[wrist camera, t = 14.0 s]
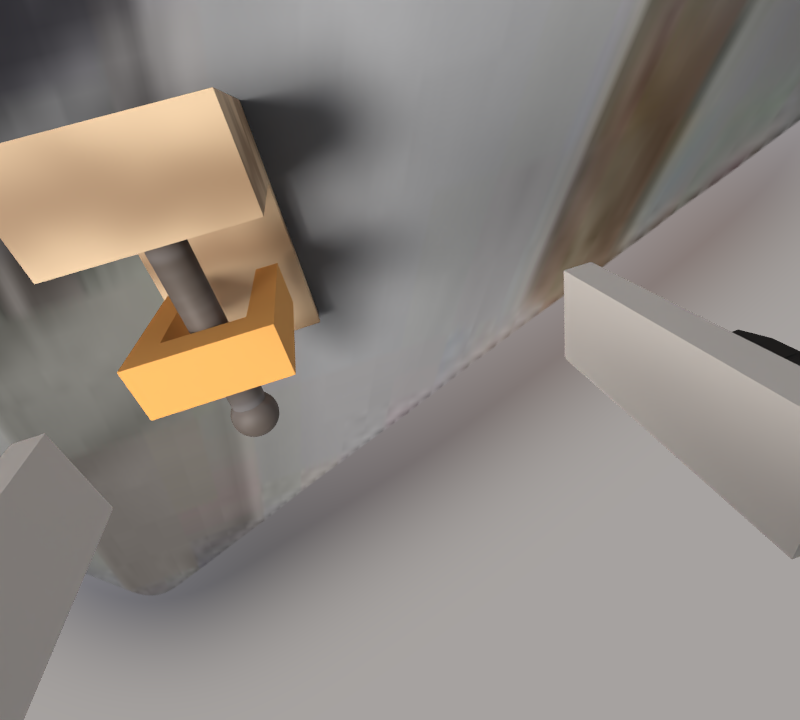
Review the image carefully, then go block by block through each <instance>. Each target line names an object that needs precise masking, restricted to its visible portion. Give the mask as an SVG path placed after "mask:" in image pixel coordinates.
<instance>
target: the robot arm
mask: <svg viewBox="0 0 800 720" xmlns="http://www.w3.org/2000/svg"><path fill="white" fill-rule="evenodd" d="M564 316H565V317H564V321H565V323H564V324H565V359H566V360H567V361H569V362H570V363H571V364H572V365H573V366H574V367H575V368H576V369H578V370H579V371H580V372H581V373H582V374H583V375H584V376H586V377H587V378H588V379H589V380H590V381H591V382H592V383H593V384H595V385H596V386H597V387H598V388H599V389H600V390H601V391H603V392H604V393H605V394H606V395H607V396H608V397H609V398H610V399H611V400H613V401H614V402H615V403H616V404H617V405H618V406H619V407H621V408H622V409H623V410H624V411H625V412H626V413H627V414H628V415H630V416H631V417H632V418H633V419H634V420H635V421H636V422H637V423H639V424H640V425H641V426H642V427H643V428H644V429H645V430H647V431H648V432H649V433H650V434H651V435H652V436H653V437H654V438H656V439H657V440H658V441H659V442H660V443H661V444H662V445H663V446H665V447H666V448H667V449H668V450H669V451H670V452H671V453H673V454H674V455H675V456H676V457H677V458H678V459H679V460H680V461H682V462H683V463H684V464H685V465H686V466H687V467H688V468H689V469H691V470H692V471H693V472H694V473H695V474H696V475H697V476H698V477H700V478H701V479H702V480H703V481H704V482H705V483H706V484H707V485H709V486H710V487H711V488H712V489H713V490H714V491H715V492H716V493H718V494H719V495H720V496H721V497H722V498H723V499H724V500H725V501H727V502H728V503H729V504H730V505H731V506H732V507H733V508H735V509H736V510H737V511H738V512H739V513H740V514H741V515H742V516H744V517H745V518H746V519H747V520H748V521H749V522H750V523H751V524H753V525H754V526H755V527H756V528H757V529H758V530H759V531H760V532H762V533H763V534H764V535H765V536H766V537H767V538H768V539H770V540H771V541H772V542H773V543H774V544H775V545H776V546H777V547H779V548H780V549H781V550H782V551H783V552H784V553H785V554H786V555H788V556H789V557H790V558H791V559H794V558H796V557H799V556H800V351H798V350H796V349H794V348H792V347H789V346H787V345H785V344H783V343H781V342H779V341H777V340H775V339H772V338H769V337H765V336H761V335H757V334H753V333H749V332H745V331H741V330H736V331H733V332H730V331H728V330H726V329H724V328H722V327H720V326H718V325H716V324H714V323H712V322H710V321H708V320H706V319H704V318H702V317H700V316H698V315H696V314H694V313H692V312H690V311H688V310H686V309H684V308H682V307H680V306H678V305H676V304H674V303H672V302H670V301H668V300H666V299H664V298H662V297H660V296H658V295H656V294H654V293H652V292H650V291H648V290H646V289H644V288H642V287H640V286H638V285H636V284H634V283H632V282H630V281H628V280H626V279H624V278H622V277H620V276H618V275H616V274H614V273H612V272H610V271H608V270H606V269H604V268H602V267H600V266H598V265H596V264H594V263H592V262H589V263H586V264H583V265H580V266H577V267H573V268H570V269H567V270H564ZM112 510H113V507H112V506H111V505H110V504H109V503H108V502H107V501H106V500H105V499H104V498H103V496H102V495H101V494H100V493H99V492H98V491H97V490H96V489H95V488H94V487H93V486H92V484H91V483H90V482H89V481H88V480H87V479H86V478H85V477H84V476H83V475H82V473H81V472H80V471H79V470H78V469H77V468H76V467H75V466H74V465H73V464H72V463H71V461H70V460H69V459H68V458H67V457H66V456H65V455H64V454H63V453H62V452H61V451H60V449H59V448H58V447H57V446H56V445H55V444H54V443H53V442H52V441H51V440H50V439H49V437H48V436H47V435H46V434H42V435H38V436H35V437H32V438H29V439H26V440H23V441H19V442H16V443H13V444H11V445H10V446H9V447H8V449H7V450H6V451H5V452H4V454H3V455H2V456H1V457H0V720H24V718H25V715H26V713H27V711H28V708H29V706H30V704H31V701H32V699H33V696H34V694H35V692H36V690H37V687H38V685H39V682H40V680H41V678H42V675H43V673H44V671H45V668H46V666H47V664H48V661H49V659H50V656H51V654H52V652H53V649H54V647H55V644H56V642H57V640H58V638H59V635H60V633H61V630H62V628H63V626H64V623H65V621H66V619H67V616H68V614H69V612H70V609H71V606H72V604H73V602H74V600H75V597H76V595H77V593H78V590H79V588H80V586H81V583H82V581H83V578H84V576H85V574H86V571H87V569H88V567H89V564H90V562H91V560H92V557H93V555H94V552H95V550H96V548H97V545H98V543H99V541H100V538H101V536H102V534H103V531H104V529H105V526H106V524H107V522H108V519H109V517H110V515H111V512H112Z"/></svg>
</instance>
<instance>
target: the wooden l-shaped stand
mask: <svg viewBox="0 0 800 720" xmlns="http://www.w3.org/2000/svg"><path fill="white" fill-rule="evenodd" d="M0 238H1V240H2V241H3V242H4V244H5V245H6V246H7V248H8V249H9V250H10V252H11V253H12V254H13V256H14V257H15V259H16V260H17V261H18V263H19V264H20V265H21V267H22V268H23V269H24V271H25V272H26V273H27V275H28V276H29V278H30V279H31V280H32V282H33V283H34V284H37V283H41V282H44V281H47V280H51V279H54V278H57V277H61V276H64V275H68V274H71V273H74V272H78V271H81V270H85V269H88V268H91V267H95V266H98V265H102V264H105V263H108V262H112V261H115V260H119V259H122V258H125V257H129V256H132V255H136V254H138V255H139V257H140V258H141V260H142V262H143V264H144V265H145V267H146V269H147V271H148V272H149V274H150V276H151V278H152V279H153V281H154V283H155V285H156V286H157V288H158V290H159V292H160V293H161V295H162V297H163V298H164V300H165V299H166V298H167V296H169V297H170V299H171V301H172V303H173V305H174V306H175V308H176V310H177V312H178V313H179V315H180V317H181V319H182V320H183V322H184V324H185V326H186V327H187V329H188V331H189V333H190V334H192V333H195V332H199V331H202V330H205V329H208V328H212V327H215V326H218V325H221V324H225V323H228V322H231V321H234V320H238V319H241V318H244V317H246V315H247V310H248V306H249V301H250V296H251V291H252V286H253V281H254V276H255V271H256V269H259V268H262V267H266V266H269V265H272V264H276V263H278V266H279V268H280V271H281V273H282V276H283V278H284V281H285V283H286V286H287V288H288V291H289V293H290V296H291V298H292V301H293V311H294V330H297V329H300V328H303V327H307V326H310V325H313V324H316V323H319V322H320V319H319V314H318V311H317V308H316V306H315V303H314V300H313V297H312V295H311V292H310V289H309V287H308V284H307V281H306V279H305V276H304V273H303V270H302V268H301V265H300V262H299V260H298V257H297V254H296V251H295V249H294V246H293V243H292V241H291V238H290V235H289V233H288V230H287V227H286V224H285V222H284V219H283V216H282V214H281V211H280V208H279V206H278V203H277V200H276V197H275V195H274V192H273V189H272V187H271V184H270V181H269V179H268V176H267V173H266V170H265V168H264V165H263V162H262V160H261V157H260V154H259V152H258V149H257V146H256V143H255V141H254V138H253V135H252V133H251V130H250V127H249V124H248V122H247V119H246V116H245V114H244V111H243V108H242V106H241V103H240V100H238V99H236V98H234V97H232V96H230V95H228V94H226V93H224V92H222V91H219V90H217V89H215V88H213V87H212V88H208V89H204V90H201V91H197V92H193V93H189V94H185V95H182V96H178V97H174V98H170V99H166V100H163V101H159V102H155V103H151V104H147V105H144V106H140V107H136V108H132V109H128V110H125V111H121V112H117V113H113V114H109V115H106V116H102V117H98V118H94V119H90V120H87V121H83V122H79V123H75V124H71V125H68V126H64V127H60V128H56V129H52V130H49V131H45V132H41V133H37V134H33V135H30V136H26V137H22V138H18V139H14V140H11V141H7V142H3V143H0ZM226 398H227V400H228V402H229V403H230V405H231V407H232V409H231V420H232V423H233V425H234V427H235V428H236V429H237V430H238V431H239V432H240V433H242V434H244V435H246V436H250V437H258V436H262V435H265V434H266V433H268V432H270V431H271V430H272V429H273V428H274V427H275V425H276V423H277V421H278V418H279V407H278V404H277V402H276V401H275V399H274V398H273V397H272V396H271V395H269V394H268V393H266V392H264V391H263V389H262V387H261V386H258V387H255V388H252V389H249V390H245V391H242V392H239V393H236V394H233V395H230V396H227V397H226Z"/></svg>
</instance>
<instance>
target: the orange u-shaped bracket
mask: <svg viewBox="0 0 800 720" xmlns="http://www.w3.org/2000/svg"><path fill="white" fill-rule="evenodd" d="M117 373H118V375H119V376H120V378H121V379H122V381H123V382H124V383H125V385H126V386H127V388H128V389H129V390H130V392H131V393H132V395H133V396H134V397H135V399H136V400H137V402H138V403H139V404H140V406H141V407H142V409H143V410H144V411H145V413H146V414H147V416H148V417H149V418H150V420H151V421H152V420H155V419H158V418H161V417H164V416H168V415H171V414H174V413H177V412H180V411H183V410H186V409H189V408H192V407H196V406H199V405H202V404H205V403H208V402H211V401H214V400H217V399H220V398H224V397H227V396H230V395H233V394H236V393H239V392H242V391H245V390H249V389H252V388H255V387H258V386H261V385H264V384H267V383H270V382H273V381H277V380H280V379H283V378H286V377H289V376H292V375H295V374H296V372H295V342H294V311H293V301H292V298H291V296H290V293H289V291H288V288H287V286H286V283H285V281H284V278H283V276H282V273H281V271H280V268H279V266H278V263H276V264H272V265H269V266H266V267H262V268H259V269H256V271H255V276H254V281H253V286H252V291H251V296H250V301H249V306H248V310H247V315H246V317H244V318H241V319H238V320H234V321H231V322H228V323H225V324H221V325H218V326H215V327H212V328H208V329H205V330H202V331H199V332H195V333H192V334H190V333H189V331H188V329H187V327H186V326H185V324H184V322H183V320H182V319H181V317H180V315H179V313H178V312H177V310H176V308H175V306H174V305H173V303H172V301H171V299H170V297H169V296H167V298H166V299H165V301H164V302H163V304H162V305H161V307H160V308H159V310H158V311H157V313H156V314H155V316H154V317H153V319H152V320H151V322H150V323H149V325H148V326H147V328H146V329H145V331H144V332H143V334H142V335H141V337H140V339H139V340H138V342H137V343H136V345H135V346H134V348H133V349H132V351H131V352H130V354H129V355H128V357H127V358H126V360H125V361H124V363H123V364H122V366H121V367H120V369H119V370H118V372H117Z"/></svg>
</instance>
